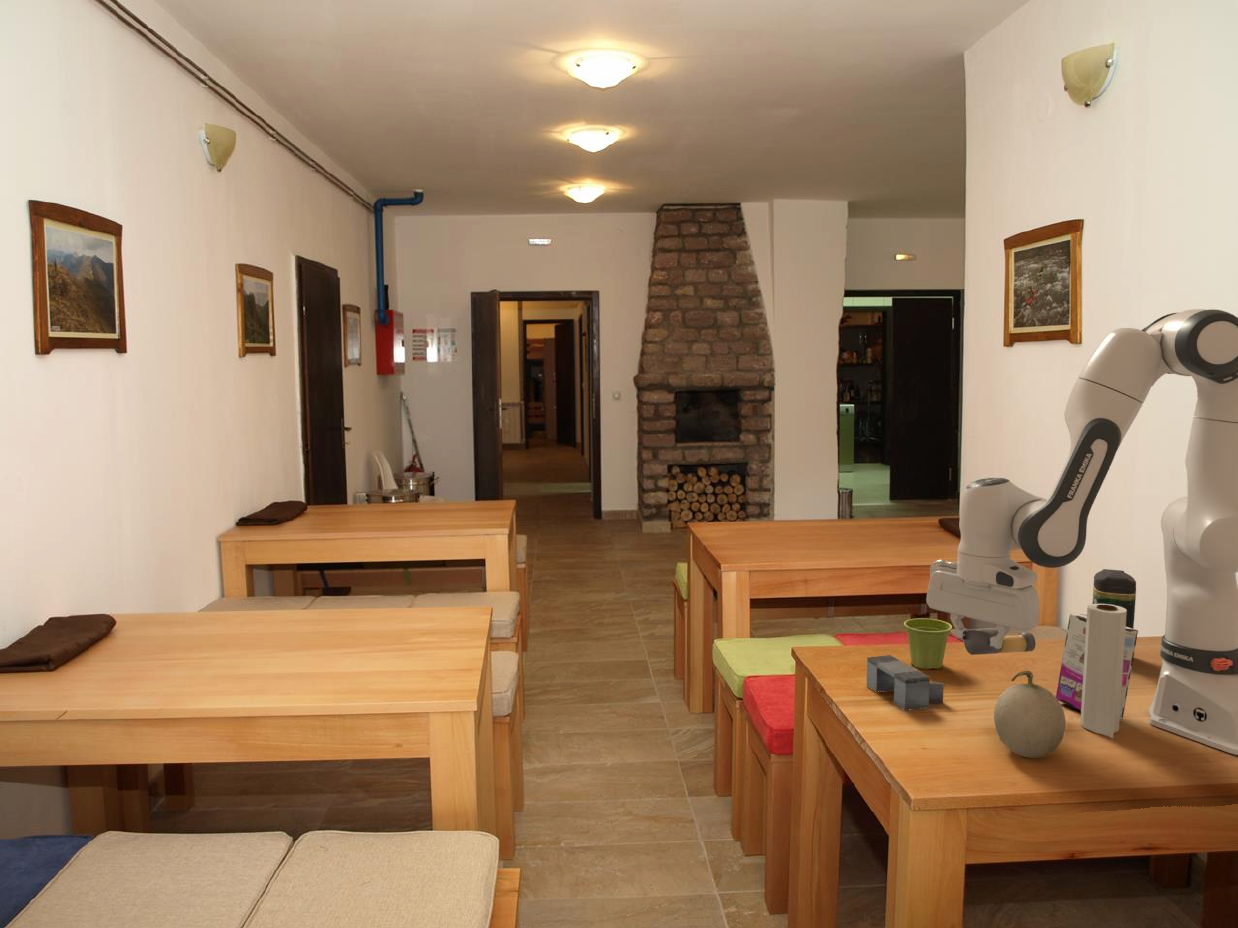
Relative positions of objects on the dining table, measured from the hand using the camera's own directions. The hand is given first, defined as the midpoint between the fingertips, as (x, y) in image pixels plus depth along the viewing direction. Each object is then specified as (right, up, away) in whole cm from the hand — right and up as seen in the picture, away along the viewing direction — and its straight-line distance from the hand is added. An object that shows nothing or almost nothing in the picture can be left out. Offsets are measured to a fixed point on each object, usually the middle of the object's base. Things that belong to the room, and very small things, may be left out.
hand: (978, 642), depth 173 cm
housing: (-11, -11, +7) cm, 17 cm away
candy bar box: (+20, -12, -1) cm, 23 cm away
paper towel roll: (+18, -13, -8) cm, 24 cm away
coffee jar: (+39, -9, +29) cm, 49 cm away
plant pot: (-1, -9, +25) cm, 27 cm away
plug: (+4, -2, +2) cm, 5 cm away
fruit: (+1, -15, -18) cm, 23 cm away
